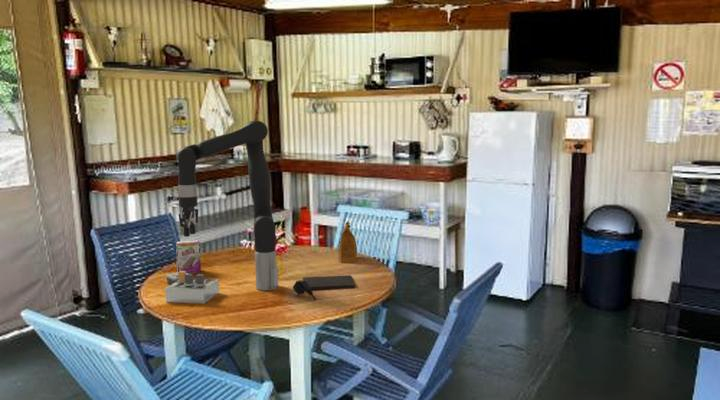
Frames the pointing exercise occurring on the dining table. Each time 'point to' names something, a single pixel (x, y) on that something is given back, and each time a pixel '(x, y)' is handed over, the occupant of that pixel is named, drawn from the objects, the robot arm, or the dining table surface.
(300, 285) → the power plug
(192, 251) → the candy bar box
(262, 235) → the robot arm
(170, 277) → the electrical switch
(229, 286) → the dining table surface
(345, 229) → the coffee package
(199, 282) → the breaker left
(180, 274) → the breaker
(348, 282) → the hardcover book
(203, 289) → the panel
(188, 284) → the breaker mid
